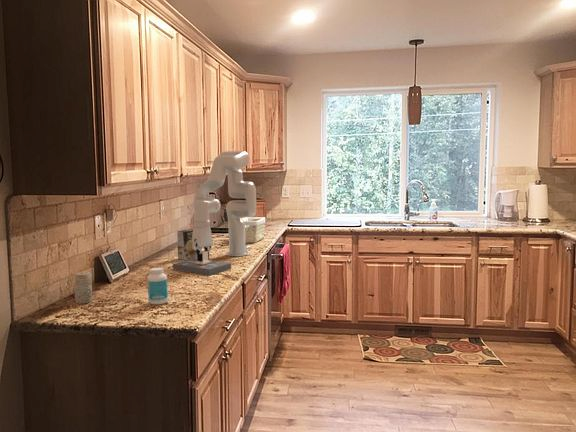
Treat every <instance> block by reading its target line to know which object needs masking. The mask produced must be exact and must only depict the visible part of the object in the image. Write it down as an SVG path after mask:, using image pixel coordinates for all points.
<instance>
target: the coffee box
mask: <svg viewBox="0 0 576 432" xmlns="http://www.w3.org/2000/svg"><path fill="white" fill-rule="evenodd" d="M176 234H177V235H176V236H177V259H178V260H182V261H186V260H190V259H194V258H197V253H196V252H195V250H193V249H192V247H193V246H192V235H193V228H192V229H191V228H189V229H181V230H177V233H176Z"/></svg>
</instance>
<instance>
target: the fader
mask: <svg viewBox="0 0 576 432" xmlns="http://www.w3.org/2000/svg"><path fill="white" fill-rule="evenodd" d="M201 254H203V261H202V262H200V261H197V262H196V264H202V265H203V264H207V263H211V261H209V260H210V259H209V260H208V251H205V250H202V253H201Z"/></svg>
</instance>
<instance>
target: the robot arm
mask: <svg viewBox="0 0 576 432" xmlns="http://www.w3.org/2000/svg"><path fill="white" fill-rule="evenodd" d="M249 162H250V155H249V153H248V152H247V151H245V150H228V151H226V150H225V151H222V152H220V153H219V155H218V156H215V158H214V159H213V162H212V166H211V169H210V172H209V176H208V178H207V180H206V181H204V182H203V183H202V184H201V185H200V186H199V187H198V188H197V189H196V192H195V194H194V198H193V201H192V209H193V219H194V220H193V221H194V223H193V225H194V227H193V228H192V229H193V235H192V246H193V247H192V249H193V250H195V252H196V253H197V261H200V262H202V261H203V254H201V253H202V251H208V260H210V252H211V249H212V248H213V246H214V242H213V235H212V234H213V233H212V230H211V226H210V225H211V221H210V220H211V219H210V214H215V213H218V212H219V211H220V210H221V208H222V205H221V201H220V200H219V199H217V198H209V197H206V196H207V194H208V195H209V193H211V192H212V191H215V190H217V189H220V188H222V186H224V184H225V180H226V177H227V189H228V190H227V191H228V192H227V193H228V196H229V197H230V198H233V199H234V200H229V201H228V202H227V204H226V205H225V210H226V215H227V224H228V225H227V226H228V251H227V252H226V256H228V257H244V256H248V255H249V251H247V250H250V249H251V246H250V245H246V242H245V223H244V221H243V219H242V218H245V217H255V216H256V214H257V189H256V185H255V184H254V182H252V181H247V180H245V181H244V176H243V174H244V173H243V171H242V169H244V168H246V167H247V166H248V164H249ZM235 199H236V200H235ZM237 199H238V200H237ZM239 199H240V200H239ZM241 199H245V200H241ZM203 249H204V250H203Z"/></svg>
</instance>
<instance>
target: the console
mask: <svg viewBox="0 0 576 432" xmlns="http://www.w3.org/2000/svg"><path fill="white" fill-rule="evenodd" d="M209 261H211V263H207V264H203V265H202V264H196V262H197V258H193V259H188V260H182V261H179V262H178V261H177V262H174V263H172V270H173V271H179V272H184V273H185V272H186V273H192V274H198V275H203V276H205V275H206V276H212V275H215V274H220V273H222V272H226V271H229V270H232V263H231V262H226V261H218V260H211V259H209Z"/></svg>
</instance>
